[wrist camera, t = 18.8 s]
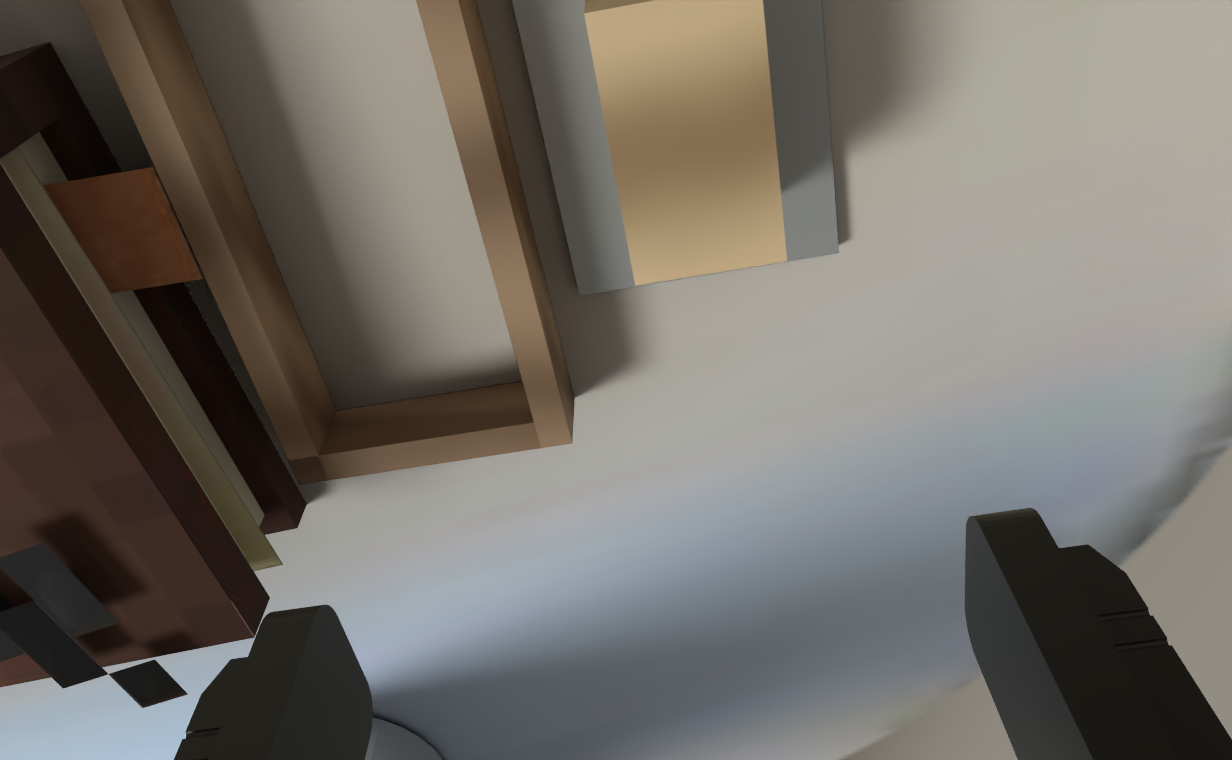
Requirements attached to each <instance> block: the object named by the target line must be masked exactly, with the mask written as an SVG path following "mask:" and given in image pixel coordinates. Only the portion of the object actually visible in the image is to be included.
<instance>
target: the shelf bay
mask: <svg viewBox="0 0 1232 760" xmlns="http://www.w3.org/2000/svg"><path fill="white" fill-rule="evenodd" d="M79 1H80V3H81V6H82V8H83V10H84V12H85V14H86V17H87V19H88V21H89V23H90V25H91V28H92V30H93V32H94V34H95V36H96V39H97V41H98V43H99V45H100V47H101V50H102V52H103V54H104V56H105V58H106V61H107V63H108V65H109V67H110V69H111V72H112V74H113V76H114V78H115V80H116V83H117V85H118V87H119V89H120V91H121V94H122V96H123V98H124V100H125V102H126V105H127V107H128V109H129V111H130V113H131V116H132V118H133V120H134V122H135V124H136V127H137V129H138V131H139V133H140V135H141V138H142V140H143V142H144V144H145V146H146V149H147V151H148V153H149V155H150V157H151V160H152V162H153V164H154V166H155V168H156V171H157V173H158V175H159V177H160V179H161V182H162V184H163V186H164V188H165V190H166V193H167V195H168V197H169V199H170V201H171V204H172V206H173V208H174V210H175V212H176V215H177V217H178V219H179V221H180V223H181V226H182V228H183V230H184V232H185V234H186V237H187V239H188V241H189V243H190V245H191V248H192V250H193V252H194V254H195V256H196V259H197V261H198V263H199V265H200V267H201V270H202V272H203V274H204V276H205V278H206V281H207V283H208V285H209V287H210V289H211V292H212V294H213V296H214V298H215V300H216V303H217V305H218V307H219V309H220V311H221V314H222V316H223V318H224V320H225V322H226V325H227V327H228V329H229V331H230V333H231V336H232V338H233V340H234V342H235V344H236V347H237V349H238V351H239V353H240V355H241V358H242V360H243V362H244V364H245V366H246V369H247V371H248V373H249V375H250V377H251V380H252V382H253V384H254V386H255V388H256V391H257V393H258V395H259V397H260V399H261V402H262V404H263V406H264V408H265V410H266V413H267V415H268V417H269V419H270V421H271V424H272V426H273V428H274V430H275V432H276V435H277V437H278V439H279V441H280V443H281V446H282V448H283V450H284V452H285V454H286V457H287V459H288V461H289V463H290V465H291V468H292V470H293V472H294V474H295V476H296V479H297V481H298V483H299V485H300V484H307V483H313V482H320V481H327V480H333V479H340V478H346V477H353V476H360V475H366V474H373V473H379V472H386V471H392V470H399V469H406V468H412V467H419V466H425V465H432V464H439V463H445V462H452V461H458V460H465V459H472V458H478V457H485V456H491V455H498V454H505V453H511V452H518V451H524V450H531V449H538V448H544V447H551V446H557V445H564V444H571V443H572V437H573V418H574V395H573V391H572V387H571V383H570V379H569V375H568V371H567V367H566V363H565V359H564V355H563V351H562V347H561V343H560V338H559V334H558V330H557V326H556V322H555V318H554V314H553V310H552V306H551V302H550V298H549V294H548V290H547V286H546V282H545V278H544V274H543V270H542V266H541V262H540V258H539V254H538V250H537V246H536V242H535V238H534V234H533V230H532V226H531V222H530V218H529V214H528V210H527V205H526V201H525V197H524V193H523V189H522V185H521V181H520V177H519V173H518V169H517V165H516V161H515V157H514V153H513V149H512V145H511V141H510V137H509V133H508V129H507V125H506V121H505V117H504V113H503V109H502V105H501V101H500V97H499V93H498V89H497V85H496V81H495V77H494V72H493V68H492V64H491V60H490V56H489V52H488V48H487V44H486V40H485V36H484V32H483V28H482V24H481V20H480V16H479V12H478V8H477V4H476V0H416V1H417V5H418V9H419V12H420V16H421V19H422V23H423V26H424V30H425V34H426V37H427V41H428V44H429V48H430V52H431V55H432V59H433V62H434V66H435V69H436V73H437V77H438V80H439V84H440V87H441V91H442V95H443V98H444V102H445V105H446V109H447V112H448V116H449V120H450V123H451V127H452V130H453V134H454V138H455V141H456V145H457V148H458V152H459V155H460V159H461V163H462V166H463V170H464V173H465V177H466V181H467V184H468V188H469V191H470V195H471V198H472V202H473V206H474V209H475V213H476V216H477V220H478V224H479V227H480V231H481V234H482V238H483V241H484V245H485V249H486V252H487V256H488V259H489V263H490V267H491V270H492V274H493V277H494V281H495V284H496V288H497V292H498V295H499V299H500V302H501V306H502V310H503V313H504V317H505V320H506V324H507V327H508V331H509V335H510V338H511V342H512V345H513V349H514V353H515V356H516V360H517V363H518V367H519V371H520V374H521V378H522V382H516V383H510V384H503V385H497V386H491V387H484V388H478V389H472V390H465V391H459V392H453V393H446V394H440V395H434V396H427V397H421V398H415V399H409V400H402V401H396V402H390V403H383V404H377V405H371V406H364V407H358V408H352V409H345V410H339V411H336V409H335V406H334V404H333V401H332V399H331V396H330V394H329V391H328V389H327V386H326V384H325V382H324V379H323V377H322V374H321V372H320V369H319V367H318V364H317V362H316V359H315V357H314V355H313V352H312V350H311V347H310V345H309V342H308V340H307V337H306V335H305V333H304V330H303V328H302V325H301V323H300V320H299V318H298V315H297V313H296V310H295V308H294V306H293V303H292V301H291V298H290V296H289V293H288V291H287V288H286V286H285V283H284V281H283V279H282V276H281V274H280V271H279V269H278V266H277V264H276V261H275V259H274V256H273V254H272V252H271V249H270V247H269V244H268V242H267V239H266V237H265V234H264V232H263V229H262V227H261V225H260V222H259V220H258V217H257V215H256V212H255V210H254V207H253V205H252V203H251V200H250V198H249V195H248V193H247V190H246V188H245V185H244V183H243V180H242V178H241V176H240V173H239V171H238V168H237V166H236V163H235V161H234V158H233V156H232V153H231V151H230V149H229V146H228V144H227V141H226V139H225V136H224V134H223V131H222V129H221V126H220V124H219V122H218V119H217V117H216V114H215V112H214V109H213V107H212V104H211V102H210V100H209V97H208V95H207V92H206V90H205V87H204V85H203V82H202V80H201V77H200V75H199V73H198V70H197V68H196V65H195V63H194V60H193V58H192V55H191V53H190V50H189V48H188V46H187V43H186V41H185V38H184V36H183V33H182V31H181V28H180V26H179V23H178V21H177V19H176V16H175V14H174V11H173V9H172V6H171V4H170V1H169V0H79Z"/></svg>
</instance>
